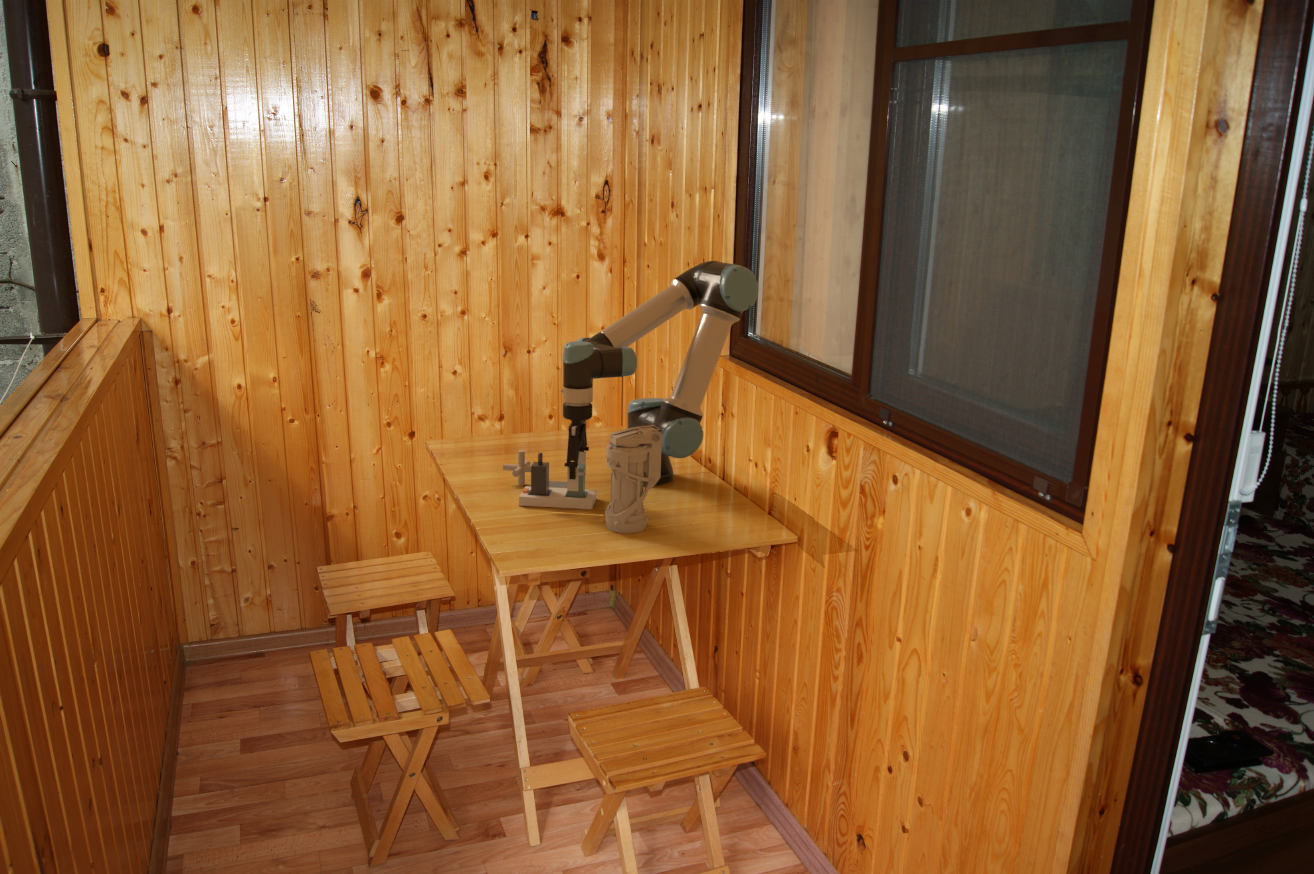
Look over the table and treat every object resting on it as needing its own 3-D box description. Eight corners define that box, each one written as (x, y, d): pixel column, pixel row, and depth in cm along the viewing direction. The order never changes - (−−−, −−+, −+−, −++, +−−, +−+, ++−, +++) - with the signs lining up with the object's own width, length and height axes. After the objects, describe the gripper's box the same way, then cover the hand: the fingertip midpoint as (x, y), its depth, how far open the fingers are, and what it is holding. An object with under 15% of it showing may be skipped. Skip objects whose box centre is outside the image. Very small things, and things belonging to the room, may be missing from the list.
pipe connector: (533, 493, 280) (533, 457, 277) (498, 489, 282) (497, 454, 279) (544, 482, 289) (544, 447, 287) (510, 479, 291) (510, 444, 289)
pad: (583, 484, 289) (583, 482, 289) (577, 495, 279) (577, 493, 279) (547, 482, 289) (547, 480, 289) (541, 493, 280) (541, 491, 280)
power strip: (596, 500, 275) (596, 488, 274) (591, 511, 267) (592, 498, 266) (525, 496, 277) (525, 484, 276) (518, 507, 268) (518, 494, 267)
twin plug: (548, 498, 274) (549, 451, 270) (546, 503, 270) (546, 455, 266) (533, 498, 274) (534, 450, 270) (531, 502, 270) (531, 454, 267)
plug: (584, 500, 273) (585, 464, 270) (582, 505, 269) (583, 468, 266) (569, 499, 273) (569, 463, 271) (567, 504, 269) (567, 468, 267)
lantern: (612, 535, 250) (615, 435, 244) (599, 521, 259) (601, 424, 253) (662, 530, 255) (666, 432, 248) (648, 517, 264) (651, 421, 258)
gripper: (570, 391, 276) (569, 468, 282) (554, 413, 253) (554, 496, 258) (598, 393, 276) (597, 469, 281) (585, 414, 252) (584, 498, 258)
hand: (576, 482), depth 270 cm, fingers open, 13 cm apart
